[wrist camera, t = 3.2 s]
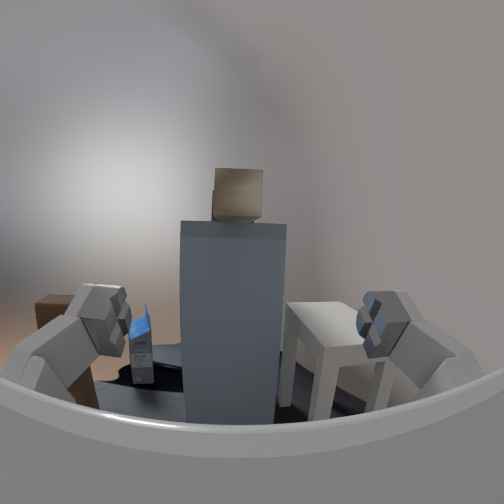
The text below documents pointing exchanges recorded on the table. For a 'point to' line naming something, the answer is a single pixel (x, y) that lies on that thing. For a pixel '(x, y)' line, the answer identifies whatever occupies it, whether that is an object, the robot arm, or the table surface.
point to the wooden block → (84, 383)
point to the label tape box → (141, 350)
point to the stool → (329, 355)
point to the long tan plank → (237, 195)
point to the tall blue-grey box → (231, 320)
